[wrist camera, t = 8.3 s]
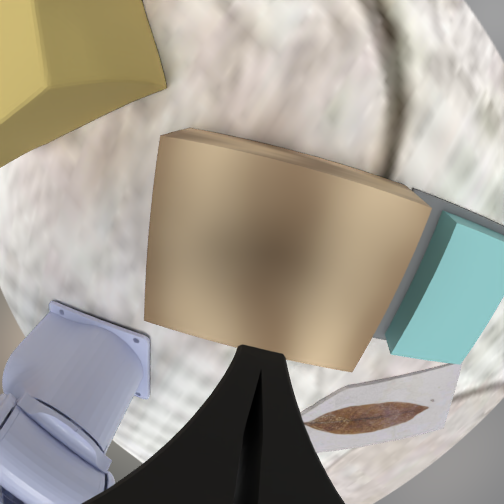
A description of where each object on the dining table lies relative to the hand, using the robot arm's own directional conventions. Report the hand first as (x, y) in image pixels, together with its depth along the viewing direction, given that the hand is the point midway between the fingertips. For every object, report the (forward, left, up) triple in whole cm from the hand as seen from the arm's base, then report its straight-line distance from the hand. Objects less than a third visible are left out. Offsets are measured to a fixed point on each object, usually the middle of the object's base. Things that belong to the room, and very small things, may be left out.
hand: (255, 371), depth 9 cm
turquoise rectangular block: (+12, 0, -8) cm, 14 cm away
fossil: (+12, -14, -11) cm, 21 cm away
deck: (0, 0, -10) cm, 10 cm away
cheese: (-14, +9, -10) cm, 20 cm away
